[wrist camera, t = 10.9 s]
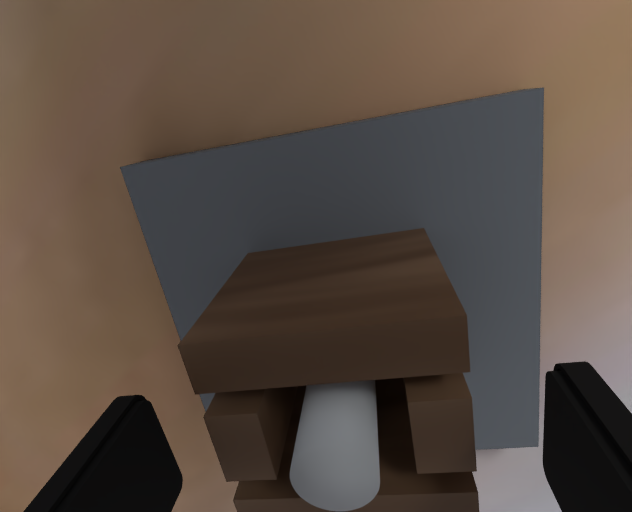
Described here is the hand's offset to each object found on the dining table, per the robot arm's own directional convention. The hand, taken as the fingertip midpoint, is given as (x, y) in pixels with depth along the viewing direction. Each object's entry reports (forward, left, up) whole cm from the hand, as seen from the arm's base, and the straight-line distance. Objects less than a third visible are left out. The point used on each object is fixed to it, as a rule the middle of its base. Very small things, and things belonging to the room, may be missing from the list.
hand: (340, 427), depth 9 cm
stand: (+1, 0, -8) cm, 8 cm away
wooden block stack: (+1, 0, -6) cm, 6 cm away
